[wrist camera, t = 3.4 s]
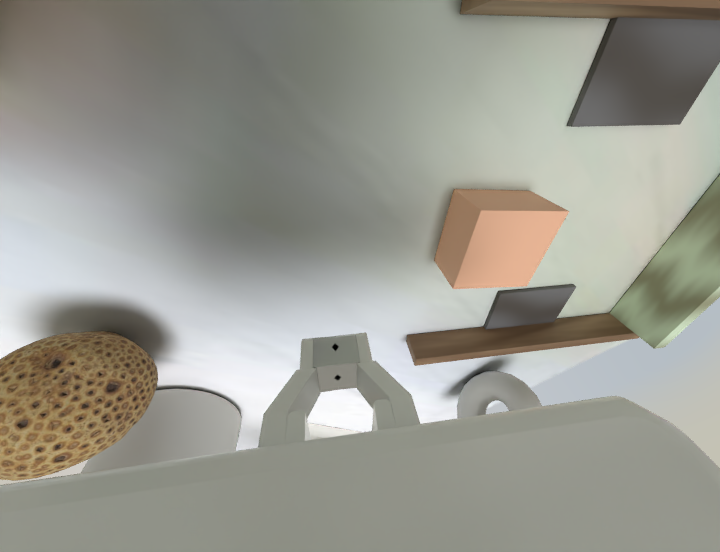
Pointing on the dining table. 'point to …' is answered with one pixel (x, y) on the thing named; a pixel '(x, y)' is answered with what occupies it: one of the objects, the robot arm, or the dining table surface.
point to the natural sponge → (69, 400)
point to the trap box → (616, 108)
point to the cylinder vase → (174, 431)
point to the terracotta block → (496, 237)
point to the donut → (494, 394)
